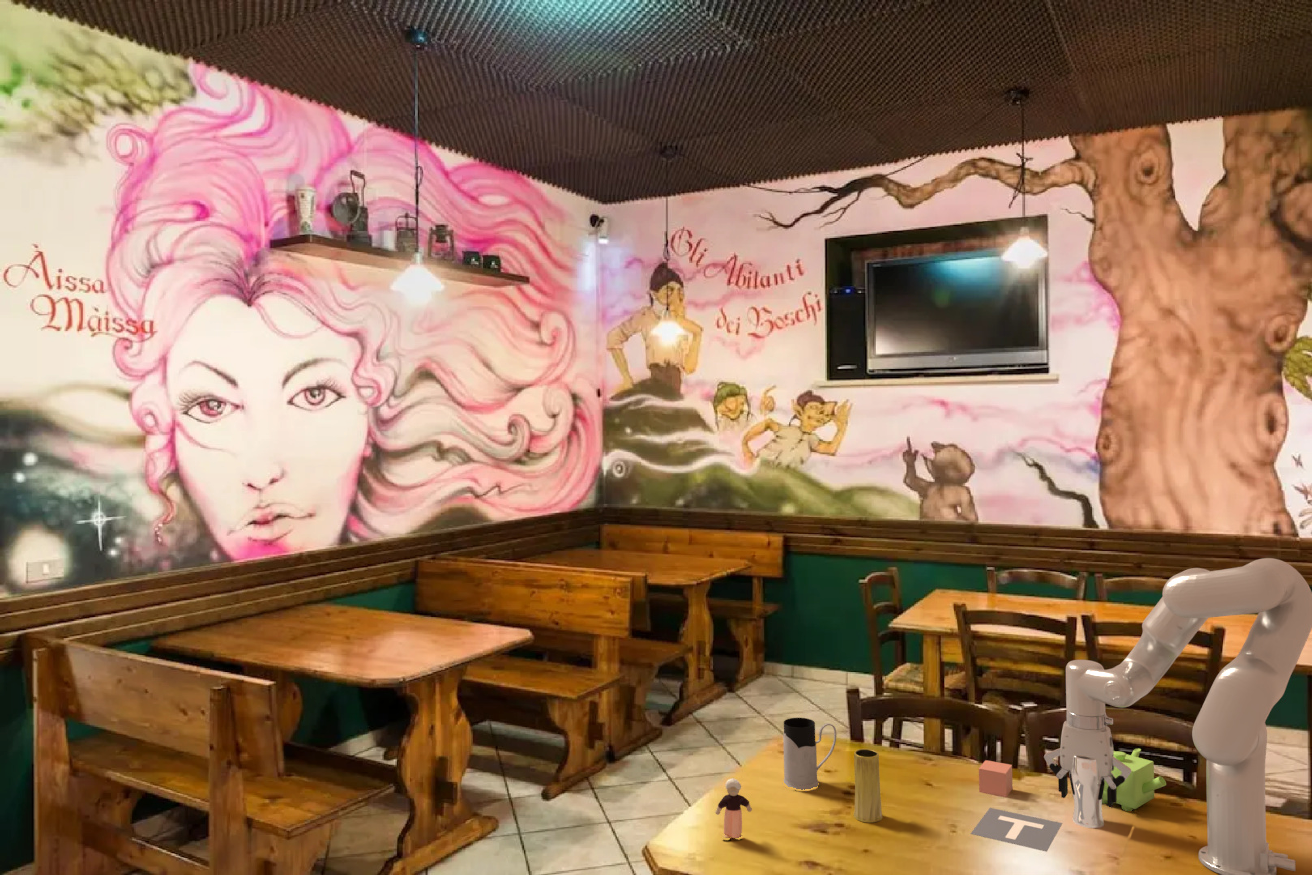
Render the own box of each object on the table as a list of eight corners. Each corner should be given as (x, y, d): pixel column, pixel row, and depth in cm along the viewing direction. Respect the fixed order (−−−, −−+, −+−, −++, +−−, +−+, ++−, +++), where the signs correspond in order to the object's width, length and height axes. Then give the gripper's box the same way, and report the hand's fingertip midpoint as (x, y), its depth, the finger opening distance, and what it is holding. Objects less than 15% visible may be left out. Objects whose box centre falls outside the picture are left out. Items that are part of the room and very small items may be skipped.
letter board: (1062, 824, 194) (1062, 822, 194) (1046, 853, 181) (1046, 851, 181) (989, 809, 202) (989, 807, 202) (970, 835, 190) (970, 833, 190)
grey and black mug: (776, 780, 222) (775, 719, 222) (828, 771, 227) (826, 712, 226) (792, 793, 214) (790, 730, 214) (846, 784, 218) (844, 722, 218)
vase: (850, 820, 199) (849, 755, 199) (858, 809, 204) (856, 746, 204) (878, 825, 196) (876, 759, 196) (885, 813, 202) (883, 750, 201)
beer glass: (1110, 831, 190) (1108, 760, 190) (1074, 829, 191) (1073, 759, 191) (1101, 817, 197) (1099, 748, 196) (1066, 815, 198) (1065, 747, 198)
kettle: (1075, 788, 212) (1074, 740, 212) (1138, 789, 211) (1137, 741, 211) (1100, 815, 197) (1099, 764, 197) (1168, 816, 196) (1167, 765, 196)
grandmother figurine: (720, 844, 189) (719, 784, 189) (714, 836, 193) (713, 777, 193) (755, 839, 191) (753, 779, 191) (748, 831, 195) (746, 772, 195)
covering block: (1012, 790, 212) (1012, 764, 212) (1006, 799, 207) (1005, 773, 207) (986, 785, 216) (985, 760, 216) (979, 794, 211) (978, 768, 211)
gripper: (1134, 721, 192) (1135, 802, 192) (1046, 708, 202) (1047, 785, 202) (1128, 732, 185) (1130, 816, 186) (1038, 717, 195) (1040, 797, 196)
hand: (1087, 799), depth 194 cm, fingers open, 8 cm apart
